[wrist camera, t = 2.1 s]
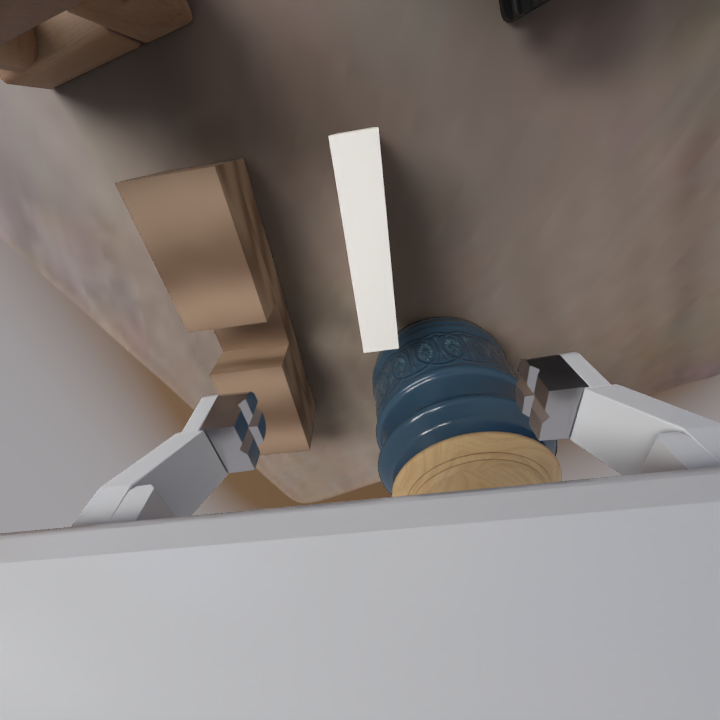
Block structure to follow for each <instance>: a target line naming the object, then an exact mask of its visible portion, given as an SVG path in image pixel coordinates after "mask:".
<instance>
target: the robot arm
mask: <svg viewBox="0 0 720 720" xmlns="http://www.w3.org/2000/svg"><path fill="white" fill-rule="evenodd" d="M518 372H519V373H520V375H521V376H522V377H521V378H520V379H519V380H518V382H517V383H516V390H515V393H516V401H517V403H518V406H519V408H520V410H521V412H522V413H523V414H525V415H526V416H528V417H530V419H529V425H530V427H531V429H532V430H533V432H534V434H535V435H536V437H537V439H538V440H539V441H543V440H556V439H568V438H570V440H571V441H573V442H574V443H576V444H577V445H579V446H580V447H582V448H583V449H584V450H586V451H587V452H589V453H590V454H592V455H593V456H595V457H596V458H598V459H599V460H601V461H602V462H604V463H605V464H607V465H608V466H610V467H611V468H612V469H614V470H615V471H617V472H618V473H620V474H621V475H623V476H613V477H603V478H592V479H582V480H571V481H560V482H550V483H539V484H528V485H517V486H506V487H495V488H484V489H474V490H463V491H452V492H441V493H430V494H419V495H409V496H398V497H387V498H376V499H366V500H355V501H345V502H334V503H323V504H312V505H301V506H291V507H280V508H270V509H258V510H248V511H237V512H226V513H215V514H205V515H195V516H191V515H192V514H193V513H194V512H195V511H196V510H197V509H198V507H199V506H200V505H201V504H202V503H203V502H204V501H205V500H206V498H207V497H208V496H209V495H210V494H211V493H212V492H213V491H214V490H215V488H216V487H217V486H218V485H219V484H220V483H221V482H222V481H223V480H224V478H225V477H226V476H227V475H228V474H227V473H233V472H241V471H249V470H255V468H256V464H257V461H258V458H259V455H260V451H259V448H258V446H259V445H260V444H261V443H262V442H263V441H264V438H265V434H266V423H265V418H264V415H263V413H262V411H260V410H259V409H257V408H256V405H257V403H258V400H257V398H256V396H255V394H254V393H253V392H251V391H250V392H239V393H229V394H221V395H211V396H205V397H203V398H202V399H201V400H200V402H199V404H198V406H197V407H196V409H195V411H194V412H193V414H192V416H191V417H190V419H189V421H188V422H187V424H186V426H185V427H184V429H183V431H182V432H181V433H176V434H175V435H174V436H172V437H171V438H169V439H168V440H167V441H165V442H164V443H162V444H161V445H159V446H158V447H157V448H155V449H154V450H152V451H151V452H150V453H148V454H147V455H145V456H144V457H143V458H141V459H140V460H138V461H137V462H136V463H134V464H133V465H132V466H130V467H128V468H127V469H126V470H124V471H123V472H121V473H120V474H119V475H118V476H116V477H114V478H113V479H112V480H110V481H109V482H107V483H106V484H105V485H103V486H102V487H100V488H99V489H98V491H97V492H96V493H95V495H94V496H93V497H92V499H91V500H90V502H89V503H88V504H87V506H86V507H85V509H84V510H83V511H82V512H81V514H80V515H79V517H78V518H77V520H76V521H75V522H74V523H73V525H72V526H71V527H64V528H54V529H43V530H32V531H21V532H11V533H0V720H720V423H718V422H716V421H713V420H710V419H708V418H705V417H702V416H700V415H697V414H695V413H692V412H689V411H687V410H684V409H681V408H679V407H676V406H673V405H670V404H668V403H665V402H663V401H660V400H657V399H655V398H652V397H650V396H647V395H644V394H642V393H639V392H636V391H634V390H631V389H629V388H626V387H623V386H621V385H618V384H614V385H611V384H610V383H609V382H608V381H607V380H606V379H605V378H604V377H603V376H602V375H601V374H600V373H599V372H598V371H597V370H596V369H595V368H594V367H593V366H591V365H590V364H589V363H588V362H587V361H586V360H585V359H584V358H583V357H582V356H581V355H580V354H579V353H576V352H570V353H563V354H557V355H553V356H545V357H537V358H529V359H521V361H520V363H519V367H518Z"/></svg>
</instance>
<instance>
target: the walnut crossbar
mask: <svg viewBox="0 0 720 720" xmlns="http://www.w3.org/2000/svg"><path fill="white" fill-rule="evenodd" d="M115 185H116V187H117V189H118V191H119V193H120V195H121V197H122V199H123V201H124V203H125V205H126V207H127V209H128V211H129V213H130V215H131V217H132V219H133V221H134V223H135V225H136V227H137V229H138V231H139V234H140V236H141V238H142V240H143V242H144V244H145V246H146V248H147V250H148V252H149V254H150V256H151V258H152V260H153V262H154V264H155V266H156V268H157V270H158V272H159V274H160V276H161V278H162V280H163V282H164V284H165V286H166V288H167V290H168V292H169V294H170V296H171V298H172V300H173V303H174V305H175V307H176V309H177V311H178V313H179V315H180V317H181V319H182V321H183V323H184V325H185V327H186V329H187V331H188V333H189V332H196V331H204V330H211V329H214V332H215V334H216V336H217V339H218V341H219V343H220V345H221V348H222V350H223V353H222V355H221V356H220V358H219V360H218V362H217V363H216V365H215V367H214V368H213V370H212V372H211V373H210V375H209V376H210V378H211V380H212V382H213V384H214V386H215V388H216V390H217V392H218V394H219V395H221V394H229V393H239V392H250V391H251V392H253V393H254V394H255V396H256V398H257V400H258V403H257V405H256V408H257V409H259V410H260V411H262V413H263V415H264V418H265V423H266V434H265V438H264V441H263V442H262V443H261V444H260V445H259V446H258V448H259V451H260V455H259V456H261V455H270V454H280V453H289V452H299V451H308V450H310V446H311V439H312V432H313V425H314V418H315V411H316V406H315V403H314V399H313V396H312V392H311V389H310V385H309V382H308V378H307V375H306V372H305V368H304V365H303V361H302V358H301V354H300V351H299V347H298V344H297V341H296V337H295V334H294V330H293V327H292V323H291V320H290V316H289V313H288V310H287V306H286V303H285V299H284V296H283V292H282V289H281V285H280V282H279V279H278V275H277V272H276V268H275V265H274V261H273V258H272V254H271V251H270V248H269V244H268V241H267V237H266V234H265V230H264V227H263V223H262V220H261V217H260V213H259V210H258V206H257V203H256V199H255V196H254V192H253V189H252V186H251V182H250V179H249V175H248V172H247V168H246V165H245V161H244V158H242V159H236V160H230V161H224V162H218V163H212V164H207V165H201V166H195V167H189V168H183V169H177V170H171V171H166V172H161V173H156V174H152V175H148V176H143V177H139V178H135V179H130V180H126V181H121V182H117V183H115Z"/></svg>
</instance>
